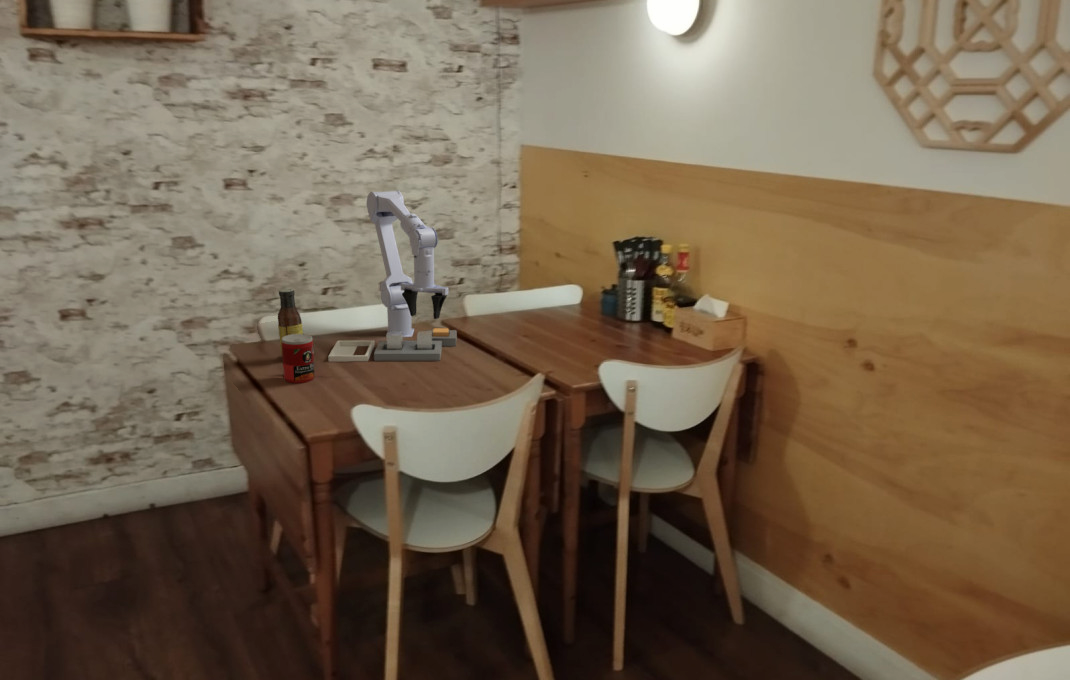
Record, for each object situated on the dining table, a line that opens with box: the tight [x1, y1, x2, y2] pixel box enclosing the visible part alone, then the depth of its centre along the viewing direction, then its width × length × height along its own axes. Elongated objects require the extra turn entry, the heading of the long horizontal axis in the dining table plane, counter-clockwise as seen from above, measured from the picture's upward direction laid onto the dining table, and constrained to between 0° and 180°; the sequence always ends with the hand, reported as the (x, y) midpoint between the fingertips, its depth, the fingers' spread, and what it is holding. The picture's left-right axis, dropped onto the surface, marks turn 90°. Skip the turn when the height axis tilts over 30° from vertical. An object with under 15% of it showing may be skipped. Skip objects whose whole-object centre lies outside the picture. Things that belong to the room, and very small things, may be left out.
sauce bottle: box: [277, 288, 304, 360], centre depth 227 cm, size 6×6×20 cm
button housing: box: [426, 329, 458, 347], centre depth 248 cm, size 9×9×3 cm
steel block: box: [386, 331, 404, 350], centre depth 234 cm, size 4×4×6 cm
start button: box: [432, 327, 450, 337], centre depth 247 cm, size 4×4×3 cm
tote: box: [327, 340, 375, 363], centre depth 235 cm, size 16×11×2 cm
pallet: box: [373, 340, 443, 362], centre depth 235 cm, size 13×18×3 cm
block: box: [416, 330, 433, 350], centre depth 235 cm, size 4×4×6 cm
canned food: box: [281, 333, 316, 384], centre depth 213 cm, size 8×8×11 cm
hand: (424, 316), depth 241 cm, fingers open, 7 cm apart
